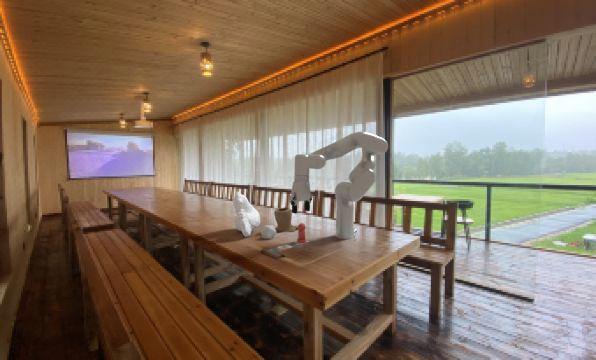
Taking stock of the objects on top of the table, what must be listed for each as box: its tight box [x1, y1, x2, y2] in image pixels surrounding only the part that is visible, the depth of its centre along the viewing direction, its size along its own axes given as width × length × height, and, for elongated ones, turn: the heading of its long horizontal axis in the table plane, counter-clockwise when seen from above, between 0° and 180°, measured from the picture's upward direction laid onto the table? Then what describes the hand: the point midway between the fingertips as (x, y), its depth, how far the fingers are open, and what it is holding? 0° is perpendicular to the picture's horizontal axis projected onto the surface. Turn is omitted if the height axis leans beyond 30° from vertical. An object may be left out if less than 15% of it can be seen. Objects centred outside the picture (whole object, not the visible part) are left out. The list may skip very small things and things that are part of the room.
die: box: [260, 224, 278, 240], centre depth 145 cm, size 8×9×10 cm
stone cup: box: [273, 206, 298, 233], centre depth 160 cm, size 15×12×15 cm
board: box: [260, 240, 310, 259], centre depth 132 cm, size 26×12×1 cm, turn 136°
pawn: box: [296, 222, 307, 244], centre depth 138 cm, size 5×5×10 cm
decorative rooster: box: [232, 191, 261, 238], centre depth 156 cm, size 25×16×25 cm
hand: (301, 211), depth 137 cm, fingers open, 9 cm apart
